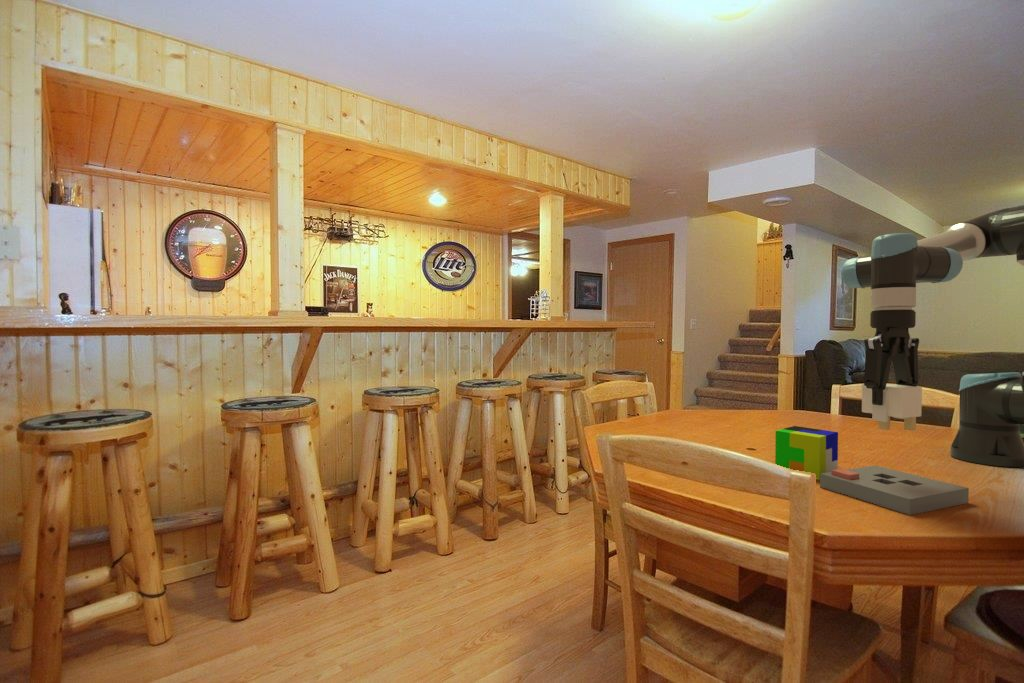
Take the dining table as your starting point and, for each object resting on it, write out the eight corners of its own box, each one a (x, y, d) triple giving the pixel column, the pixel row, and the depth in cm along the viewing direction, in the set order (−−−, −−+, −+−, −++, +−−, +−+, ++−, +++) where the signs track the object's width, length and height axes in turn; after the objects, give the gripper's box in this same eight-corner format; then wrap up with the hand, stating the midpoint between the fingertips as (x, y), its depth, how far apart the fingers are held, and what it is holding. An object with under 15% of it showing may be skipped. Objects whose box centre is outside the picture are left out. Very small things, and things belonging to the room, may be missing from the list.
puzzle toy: (837, 473, 121) (838, 432, 121) (819, 480, 116) (819, 437, 115) (794, 464, 129) (794, 425, 129) (775, 471, 124) (775, 430, 123)
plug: (880, 424, 110) (881, 383, 110) (921, 430, 102) (921, 386, 102) (861, 425, 108) (862, 384, 108) (901, 432, 100) (902, 388, 100)
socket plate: (875, 478, 117) (875, 461, 117) (968, 502, 100) (968, 483, 100) (820, 487, 110) (820, 469, 110) (909, 515, 94) (909, 493, 94)
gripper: (903, 310, 111) (901, 414, 112) (843, 309, 105) (841, 419, 105) (942, 309, 104) (940, 419, 105) (880, 307, 98) (878, 426, 98)
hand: (890, 419), depth 105 cm, fingers closed on plug, 6 cm apart
